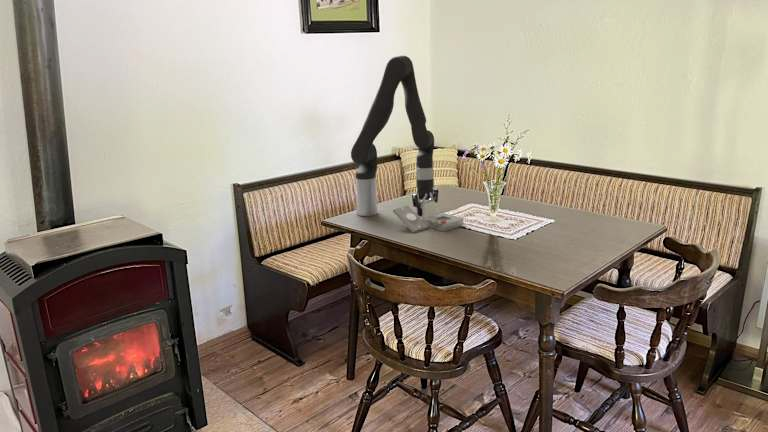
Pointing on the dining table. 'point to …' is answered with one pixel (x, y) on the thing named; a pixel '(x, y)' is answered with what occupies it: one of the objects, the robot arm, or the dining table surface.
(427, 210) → the plug
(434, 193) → the robot arm
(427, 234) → the dining table surface
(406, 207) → the light switch
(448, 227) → the socket
